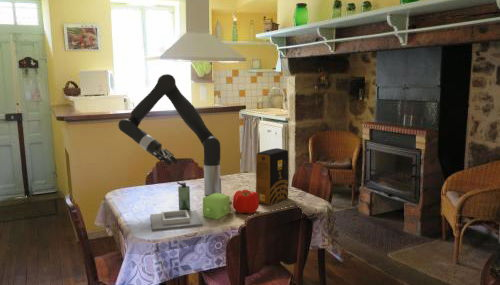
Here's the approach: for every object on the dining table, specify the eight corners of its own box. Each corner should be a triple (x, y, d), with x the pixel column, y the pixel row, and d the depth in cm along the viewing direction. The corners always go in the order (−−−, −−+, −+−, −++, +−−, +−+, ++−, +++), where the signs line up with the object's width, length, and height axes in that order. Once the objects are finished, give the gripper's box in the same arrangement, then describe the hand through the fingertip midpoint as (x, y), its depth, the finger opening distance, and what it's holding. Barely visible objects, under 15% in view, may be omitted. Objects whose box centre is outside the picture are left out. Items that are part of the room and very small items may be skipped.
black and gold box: (290, 197, 225) (290, 148, 220) (270, 206, 210) (270, 153, 205) (274, 194, 231) (274, 146, 227) (253, 202, 216) (253, 151, 212)
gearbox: (213, 224, 186) (213, 204, 184) (196, 219, 191) (196, 200, 190) (235, 212, 201) (235, 194, 199) (219, 208, 206) (219, 190, 205)
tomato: (228, 210, 204) (227, 190, 202) (251, 206, 210) (250, 186, 209) (240, 218, 192) (240, 196, 190) (264, 213, 198) (264, 192, 197)
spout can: (189, 207, 208) (188, 179, 206) (190, 211, 203) (190, 182, 200) (177, 208, 206) (176, 180, 204) (178, 212, 201) (177, 183, 199)
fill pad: (195, 212, 201) (195, 206, 201) (202, 225, 182) (202, 219, 182) (150, 216, 195) (150, 210, 195) (152, 231, 176) (152, 224, 176)
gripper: (148, 139, 205) (172, 158, 202) (160, 138, 218) (183, 156, 216) (140, 151, 206) (164, 170, 203) (152, 149, 220) (175, 167, 217)
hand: (174, 163), depth 210 cm, fingers open, 8 cm apart
